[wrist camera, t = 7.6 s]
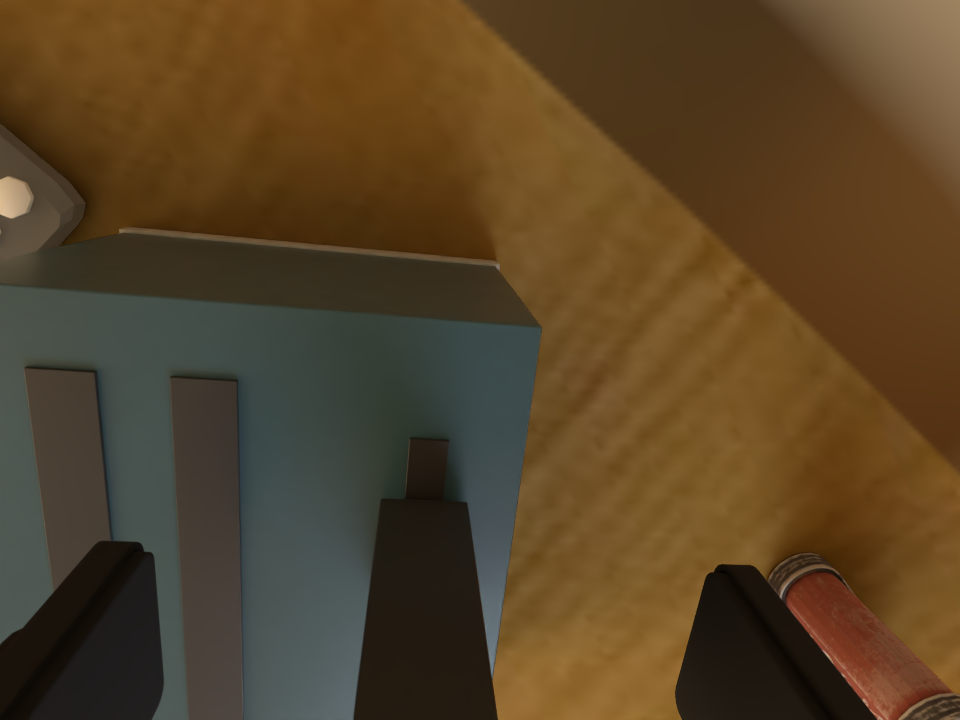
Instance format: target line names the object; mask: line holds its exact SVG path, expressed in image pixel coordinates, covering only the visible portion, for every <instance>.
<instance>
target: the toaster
mask: <svg viewBox="0 0 960 720" xmlns="http://www.w3.org/2000/svg"><path fill="white" fill-rule="evenodd" d="M499 267H500V264H499V263H498V261H494V260H483V259H472V258H461V257H450V256H439V255H429V254H418V253H407V252H396V251H385V250H375V249H364V248H353V247H342V246H331V245H320V244H310V243H299V242H288V241H277V240H266V239H255V238H245V237H234V236H223V235H212V234H201V233H190V232H180V231H169V230H158V229H147V228H136V227H126V228H121V229H119V234H114V235H110V236H105V237H100V238H96V239H91V240H87V241H82V242H77V243H73V244H68V245H64V246H59V247H54V248H50V249H45V250H40V251H36V252H31V253H27V254H22V255H17V256H13V257H8V258H4V259H0V644H1V643H2V642H3V641H4V640H5V639H6V638H7V637H9V636H10V635H11V634H12V633H13V632H15V631H17V630H20V629H22V628H23V627H24V626H25V625H26V623H27V622H28V621H29V620H30V619H31V618H32V616H33V615H34V614H35V613H36V612H37V611H38V610H39V608H40V607H41V606H42V605H43V604H44V603H45V601H46V600H47V599H48V598H49V597H50V596H51V595H52V593H53V592H54V591H55V590H56V589H57V588H58V586H59V585H60V584H61V583H62V582H63V581H64V580H65V578H66V577H67V576H68V575H69V574H70V573H71V571H72V570H73V569H74V568H75V567H76V566H77V565H78V563H79V562H80V561H81V560H82V559H83V558H84V556H85V555H86V554H87V553H88V552H89V551H90V550H91V548H92V547H93V546H94V545H95V544H96V543H98V542H99V541H129V542H139V543H141V544H142V546H143V548H144V552H152V553H153V555H154V560H155V572H156V584H157V597H158V609H159V622H160V635H161V647H162V660H163V672H164V688H163V693H162V697H161V700H160V703H159V706H158V708H157V710H156V712H155V714H154V716H153V718H152V720H353V715H354V706H355V698H356V690H357V682H358V674H359V666H360V658H361V650H362V642H363V634H364V626H365V618H366V610H367V602H368V594H369V585H370V577H371V569H372V561H373V553H374V545H375V537H376V529H377V521H378V513H379V505H380V500H381V499H382V498H387V499H411V500H434V501H458V502H467V503H468V508H469V515H470V523H471V530H472V537H473V544H474V551H475V559H476V566H477V573H478V580H479V587H480V595H481V602H482V609H483V616H484V623H485V631H486V638H487V645H488V652H489V659H490V667H491V674H492V680H493V673H494V666H495V659H496V652H497V645H498V638H499V631H500V623H501V616H502V609H503V602H504V595H505V588H506V581H507V574H508V567H509V559H510V552H511V545H512V538H513V531H514V524H515V517H516V510H517V503H518V495H519V488H520V481H521V474H522V467H523V460H524V453H525V446H526V438H527V431H528V424H529V417H530V410H531V403H532V396H533V389H534V382H535V374H536V367H537V360H538V353H539V346H540V339H541V332H542V327H541V325H540V324H539V323H538V322H537V320H536V319H535V318H534V316H533V315H532V314H531V312H530V311H529V310H528V308H527V307H526V306H525V304H524V303H523V302H522V300H521V299H520V298H519V296H518V295H517V294H516V292H515V291H514V290H513V288H512V287H511V286H510V284H509V283H508V282H507V281H506V279H505V278H504V277H503V275H502V274H501V273H500V271H499Z"/></svg>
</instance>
